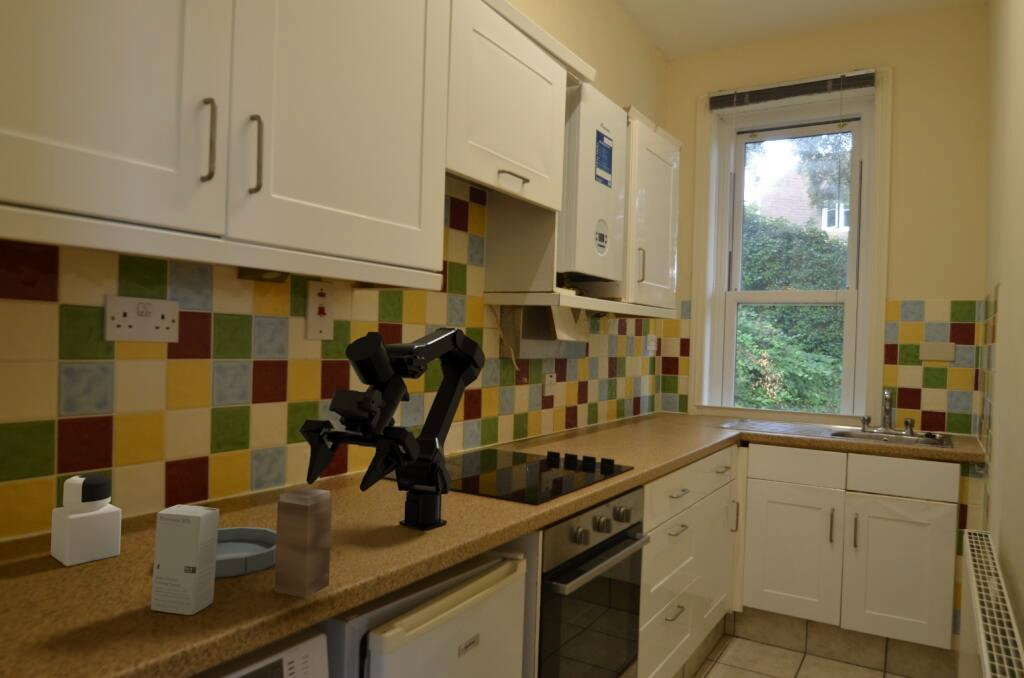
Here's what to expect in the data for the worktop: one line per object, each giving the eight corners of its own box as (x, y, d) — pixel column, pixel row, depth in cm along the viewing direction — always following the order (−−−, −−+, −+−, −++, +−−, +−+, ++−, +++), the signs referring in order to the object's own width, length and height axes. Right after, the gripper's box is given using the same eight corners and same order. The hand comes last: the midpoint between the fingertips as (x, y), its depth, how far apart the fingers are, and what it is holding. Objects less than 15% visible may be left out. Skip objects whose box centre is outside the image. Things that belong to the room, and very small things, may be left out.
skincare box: (148, 611, 79) (152, 512, 79) (173, 597, 84) (176, 503, 84) (194, 616, 78) (198, 516, 78) (217, 601, 83) (220, 506, 83)
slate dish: (246, 536, 110) (247, 521, 110) (305, 557, 100) (306, 540, 100) (148, 560, 97) (149, 543, 97) (205, 586, 87) (206, 568, 87)
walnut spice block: (299, 579, 91) (302, 486, 91) (328, 585, 89) (332, 490, 89) (274, 591, 86) (277, 494, 87) (305, 598, 85) (308, 498, 85)
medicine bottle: (103, 545, 103) (105, 469, 103) (120, 555, 98) (123, 476, 98) (49, 555, 97) (52, 475, 97) (65, 567, 93) (68, 483, 93)
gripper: (309, 367, 103) (256, 446, 92) (413, 373, 96) (368, 459, 86) (337, 413, 110) (291, 491, 99) (436, 421, 103) (397, 505, 93)
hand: (334, 486), depth 94 cm, fingers open, 9 cm apart
